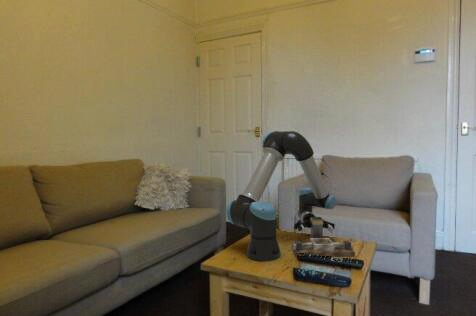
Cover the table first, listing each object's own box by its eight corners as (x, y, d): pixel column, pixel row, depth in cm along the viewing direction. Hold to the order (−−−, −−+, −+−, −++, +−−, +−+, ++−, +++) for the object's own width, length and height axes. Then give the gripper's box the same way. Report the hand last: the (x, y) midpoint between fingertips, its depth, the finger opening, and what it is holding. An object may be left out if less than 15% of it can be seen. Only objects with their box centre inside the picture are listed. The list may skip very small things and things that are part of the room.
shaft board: (294, 257, 150) (294, 245, 149) (290, 247, 162) (290, 237, 161) (356, 256, 149) (356, 244, 149) (347, 247, 161) (347, 236, 161)
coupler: (312, 245, 164) (312, 219, 163) (310, 242, 169) (310, 216, 168) (322, 245, 164) (323, 219, 163) (320, 242, 169) (320, 216, 168)
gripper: (332, 226, 184) (343, 238, 163) (286, 226, 185) (292, 238, 163) (332, 212, 184) (344, 223, 163) (286, 213, 184) (292, 223, 163)
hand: (318, 230), depth 163 cm, fingers open, 13 cm apart
